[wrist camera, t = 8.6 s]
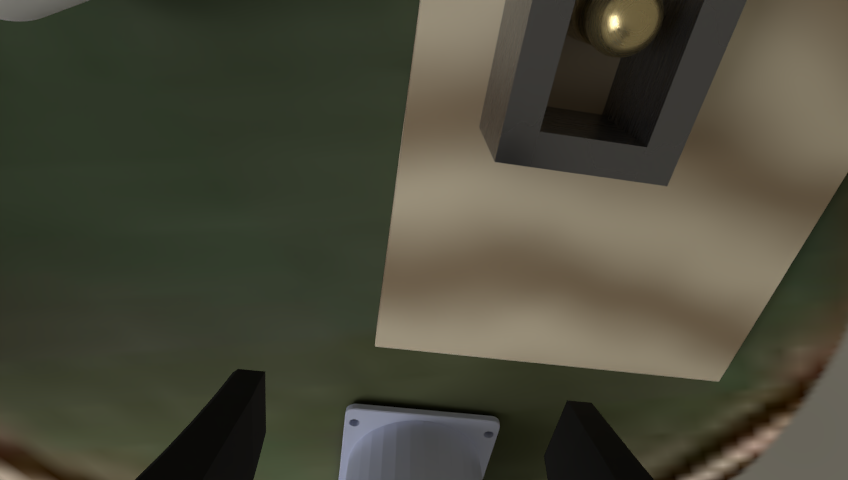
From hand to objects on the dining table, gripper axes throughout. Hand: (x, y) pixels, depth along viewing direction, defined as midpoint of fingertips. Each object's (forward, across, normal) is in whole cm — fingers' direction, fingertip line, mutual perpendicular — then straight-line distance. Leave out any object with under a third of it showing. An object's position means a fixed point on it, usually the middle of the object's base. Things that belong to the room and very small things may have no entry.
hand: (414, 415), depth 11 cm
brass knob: (+8, -4, -9) cm, 13 cm away
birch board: (+9, -7, -5) cm, 13 cm away
